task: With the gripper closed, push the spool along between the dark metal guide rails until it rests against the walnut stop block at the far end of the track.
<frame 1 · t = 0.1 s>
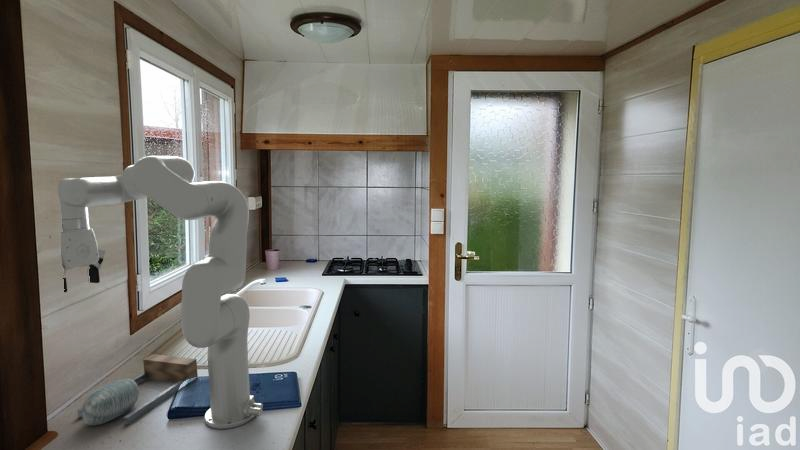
hand: (78, 287, 124), 31 cm above the worktop, fingers open, 9 cm apart
guide rails: (137, 399, 126), on the worktop
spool: (112, 416, 118), on the worktop
end stop: (171, 378, 139), on the worktop
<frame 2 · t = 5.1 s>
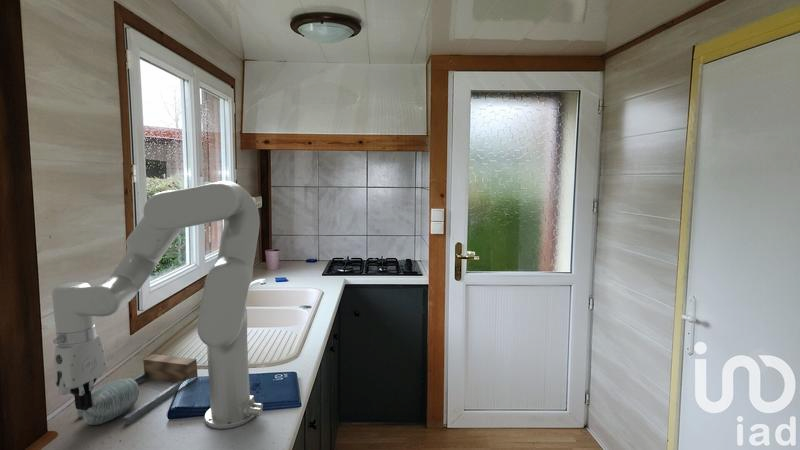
hand: (84, 408, 110), 6 cm above the worktop, fingers closed
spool: (113, 415, 119), on the worktop, touching gripper
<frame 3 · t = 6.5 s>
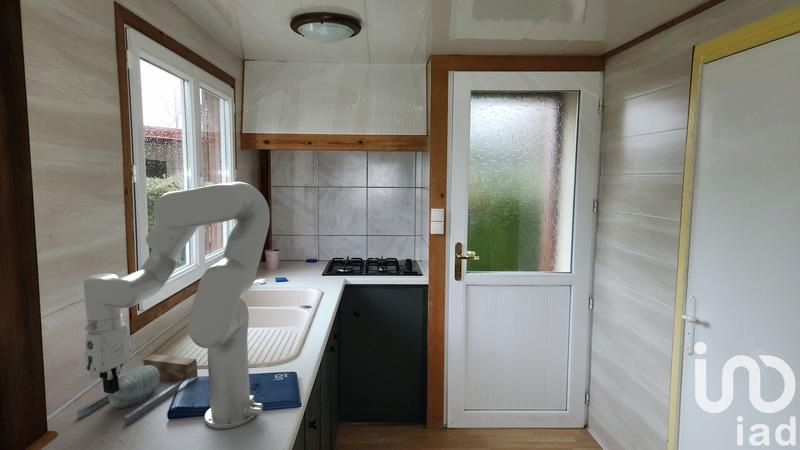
hand: (111, 391, 118), 6 cm above the worktop, fingers closed
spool: (136, 400, 126), on the worktop, touching gripper
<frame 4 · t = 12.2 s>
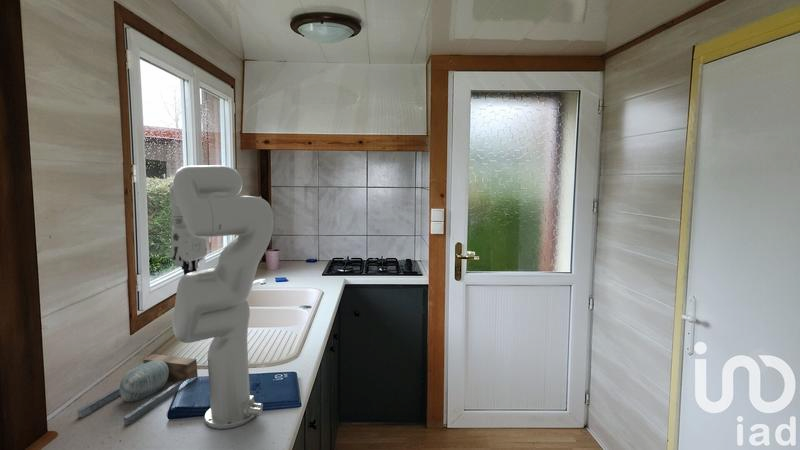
hand: (190, 282, 137), 29 cm above the worktop, fingers closed
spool: (146, 394, 130), on the worktop
at the end: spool inside the target area (0.8 cm from its centre), on the worktop; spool moved 11.5 cm from its start; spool on the worktop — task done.
